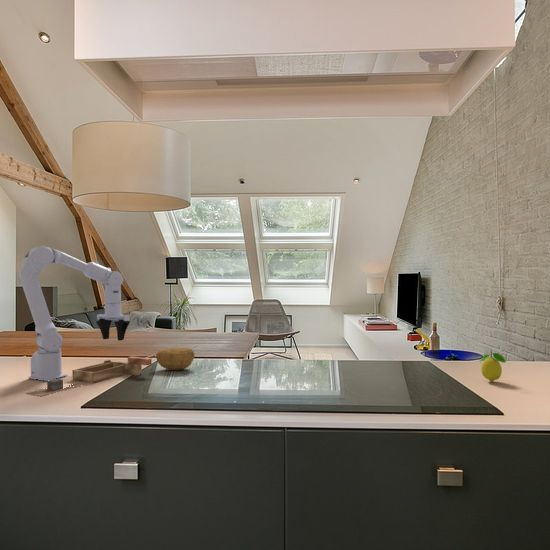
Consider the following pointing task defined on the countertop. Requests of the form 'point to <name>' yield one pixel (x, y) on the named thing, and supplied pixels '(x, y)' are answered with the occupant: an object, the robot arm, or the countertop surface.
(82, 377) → the toolbox
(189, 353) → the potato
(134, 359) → the wooden bar
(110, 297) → the robot arm
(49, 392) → the lid
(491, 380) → the lemon
